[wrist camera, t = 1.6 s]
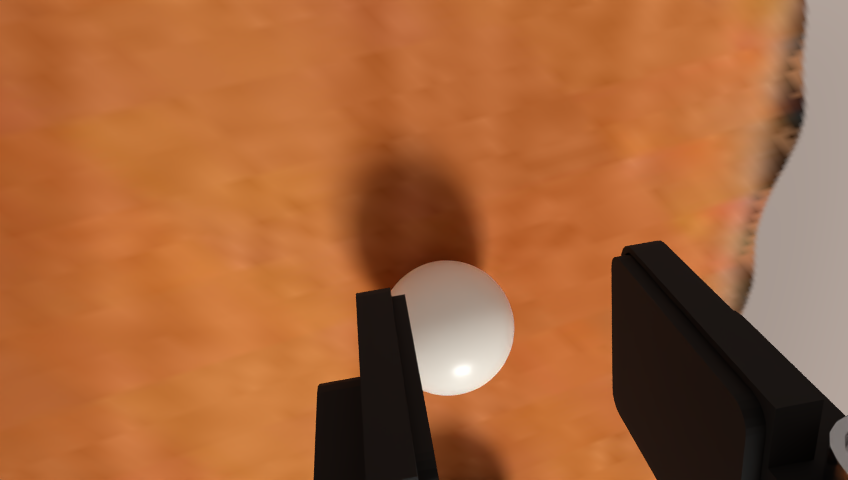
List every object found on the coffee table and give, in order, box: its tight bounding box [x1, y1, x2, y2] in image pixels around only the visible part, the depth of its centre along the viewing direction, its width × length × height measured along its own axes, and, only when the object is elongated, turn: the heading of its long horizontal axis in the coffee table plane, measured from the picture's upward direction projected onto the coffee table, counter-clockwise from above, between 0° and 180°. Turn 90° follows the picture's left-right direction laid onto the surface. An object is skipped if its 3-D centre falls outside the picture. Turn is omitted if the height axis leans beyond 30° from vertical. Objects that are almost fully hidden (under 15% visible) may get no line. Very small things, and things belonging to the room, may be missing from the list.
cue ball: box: [391, 260, 514, 395], centre depth 28 cm, size 6×6×6 cm
